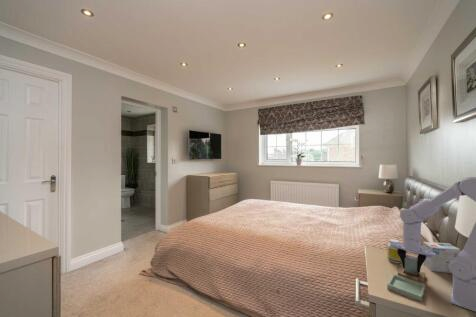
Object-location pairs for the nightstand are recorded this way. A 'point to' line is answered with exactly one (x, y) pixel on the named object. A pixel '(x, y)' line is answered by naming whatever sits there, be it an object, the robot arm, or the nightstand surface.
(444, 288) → the nightstand surface
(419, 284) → the sage tray
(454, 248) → the light bulb box
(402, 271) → the oak holder
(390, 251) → the supplement bottle
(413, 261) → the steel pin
